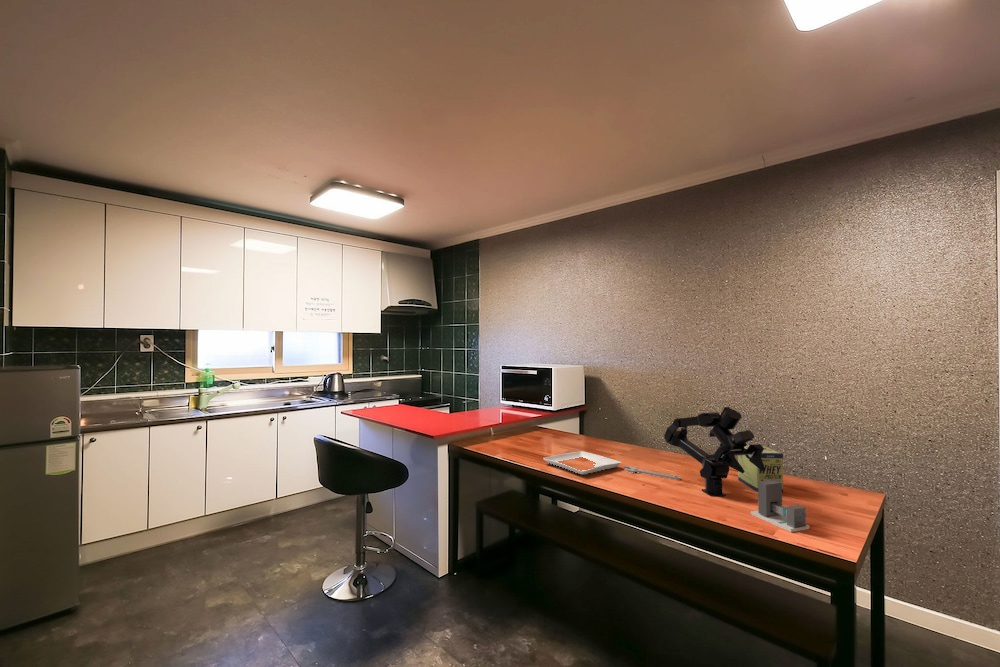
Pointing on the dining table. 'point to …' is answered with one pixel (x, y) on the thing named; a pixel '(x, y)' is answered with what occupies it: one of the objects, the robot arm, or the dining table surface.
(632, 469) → the adjustable wrench
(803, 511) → the grey block cluster
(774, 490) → the tall gray block
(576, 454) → the square plate
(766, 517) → the white board
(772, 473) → the protein box
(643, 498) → the dining table surface
